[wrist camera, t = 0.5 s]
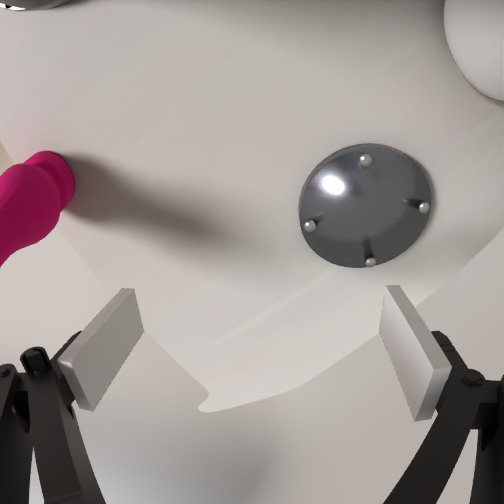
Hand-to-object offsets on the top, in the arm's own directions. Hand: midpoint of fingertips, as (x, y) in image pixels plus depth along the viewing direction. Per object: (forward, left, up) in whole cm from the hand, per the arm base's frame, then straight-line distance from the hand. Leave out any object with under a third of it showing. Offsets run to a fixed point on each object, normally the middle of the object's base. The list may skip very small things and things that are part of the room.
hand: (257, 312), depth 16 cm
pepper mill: (-6, -19, -14) cm, 25 cm away
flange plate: (+4, +9, -13) cm, 16 cm away
